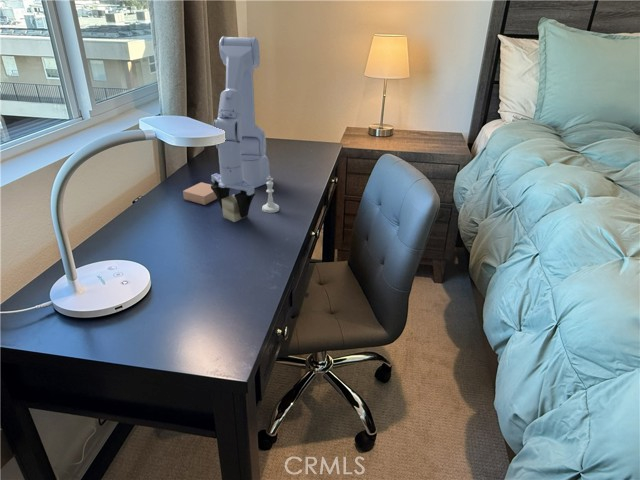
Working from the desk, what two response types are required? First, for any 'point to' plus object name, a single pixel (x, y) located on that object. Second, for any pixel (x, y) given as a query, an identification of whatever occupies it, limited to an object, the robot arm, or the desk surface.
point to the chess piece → (270, 199)
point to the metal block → (231, 208)
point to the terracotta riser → (200, 193)
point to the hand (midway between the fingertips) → (234, 212)
